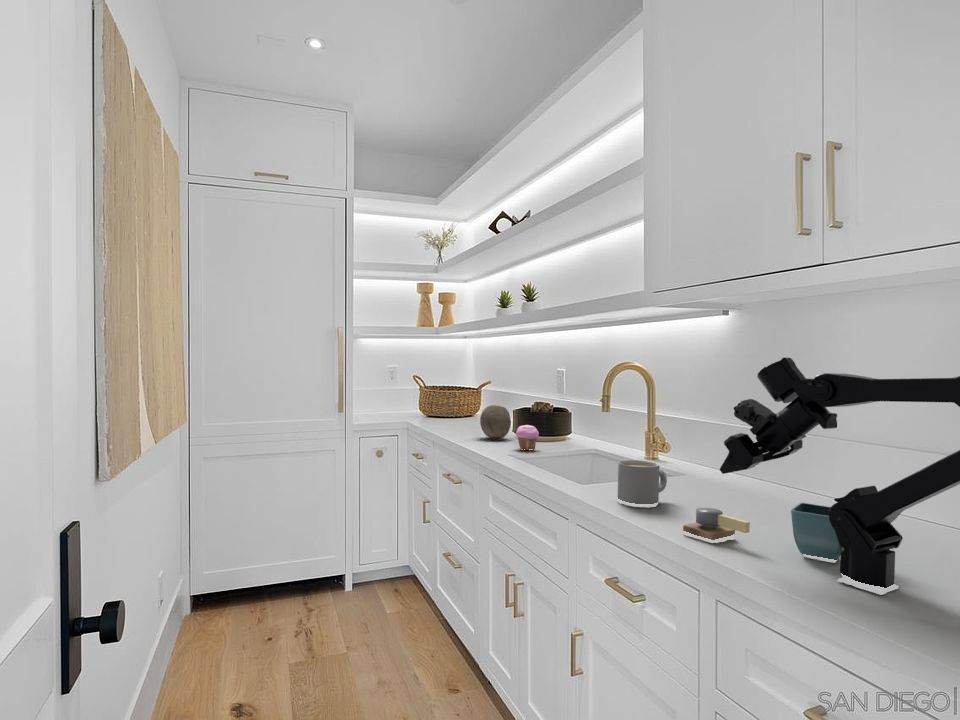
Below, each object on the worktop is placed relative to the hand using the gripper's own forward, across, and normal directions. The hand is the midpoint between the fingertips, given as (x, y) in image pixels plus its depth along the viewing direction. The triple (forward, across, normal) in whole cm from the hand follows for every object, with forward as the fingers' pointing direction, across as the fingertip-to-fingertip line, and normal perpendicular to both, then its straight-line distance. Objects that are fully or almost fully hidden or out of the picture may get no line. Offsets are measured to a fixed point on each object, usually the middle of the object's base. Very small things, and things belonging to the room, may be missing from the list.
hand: (734, 467), depth 115 cm
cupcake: (+94, -33, -58) cm, 115 cm away
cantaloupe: (+117, -40, -77) cm, 145 cm away
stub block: (+13, +4, +8) cm, 16 cm away
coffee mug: (+33, -7, -8) cm, 34 cm away
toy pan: (+8, +4, +8) cm, 12 cm away
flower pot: (0, -4, +21) cm, 21 cm away
